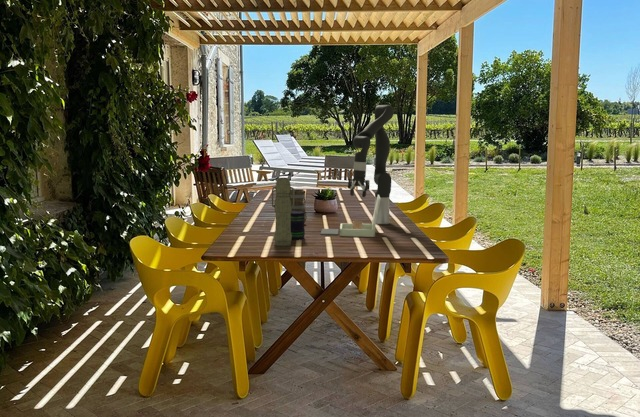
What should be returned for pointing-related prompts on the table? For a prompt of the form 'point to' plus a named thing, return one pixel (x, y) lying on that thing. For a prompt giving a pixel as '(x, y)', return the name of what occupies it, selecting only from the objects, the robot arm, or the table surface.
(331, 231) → the slate mat
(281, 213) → the thermos
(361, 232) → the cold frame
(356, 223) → the pot
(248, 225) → the table surface
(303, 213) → the storage jar
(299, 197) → the mug
